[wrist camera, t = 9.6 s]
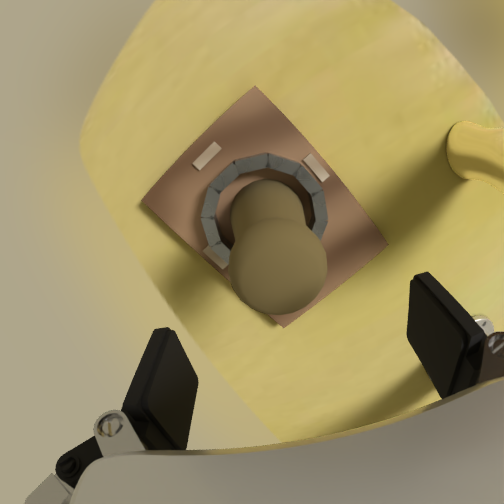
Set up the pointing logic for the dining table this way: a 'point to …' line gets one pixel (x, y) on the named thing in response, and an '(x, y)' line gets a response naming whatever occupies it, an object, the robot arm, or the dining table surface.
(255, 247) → the cork
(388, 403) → the dining table surface
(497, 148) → the beer glass
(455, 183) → the dining table surface
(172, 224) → the board
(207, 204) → the hub ring
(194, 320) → the dining table surface
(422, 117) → the dining table surface
